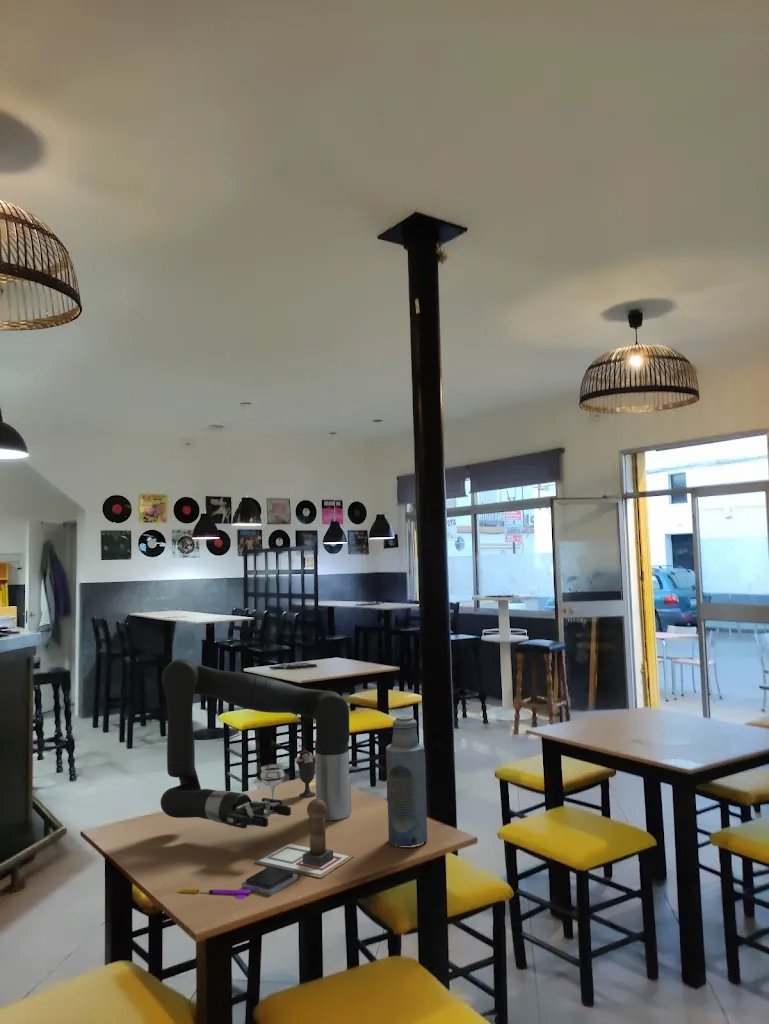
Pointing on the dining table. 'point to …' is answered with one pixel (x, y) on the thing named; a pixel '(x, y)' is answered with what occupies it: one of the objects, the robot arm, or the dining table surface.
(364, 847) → the dining table surface
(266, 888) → the ink pad
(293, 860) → the print sheet
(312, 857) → the stamp
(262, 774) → the wineglass
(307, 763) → the sundae
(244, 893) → the marker pen
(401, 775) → the bottle
